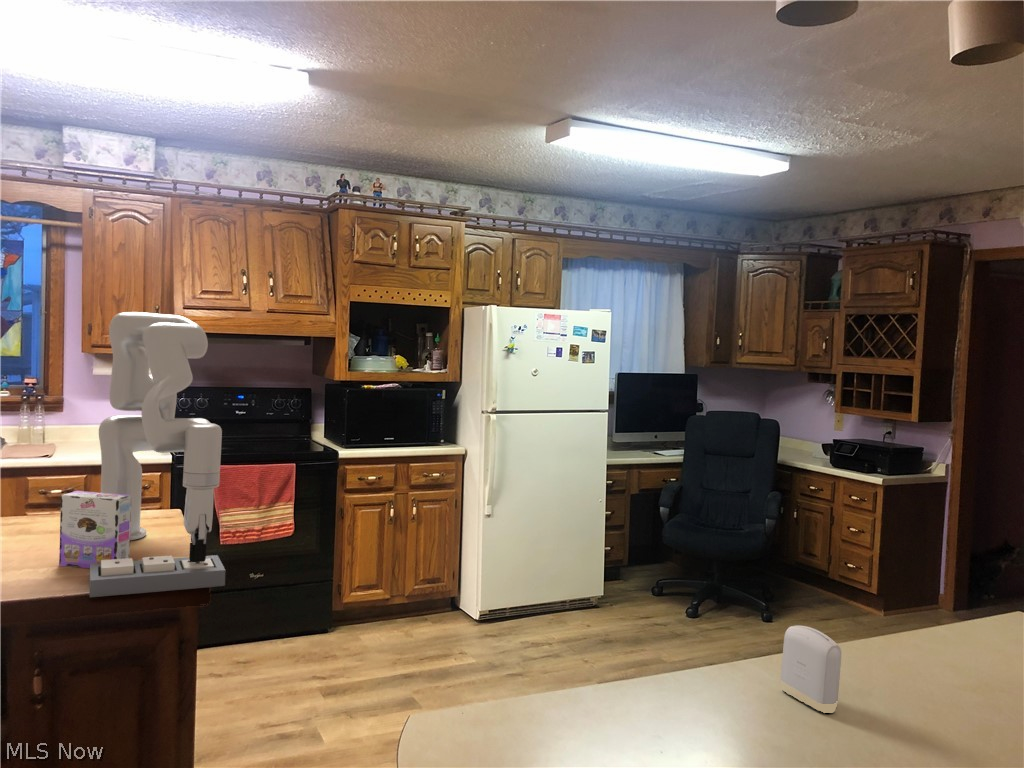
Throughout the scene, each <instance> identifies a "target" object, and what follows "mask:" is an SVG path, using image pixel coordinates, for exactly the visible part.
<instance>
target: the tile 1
mask: <svg viewBox="0 0 1024 768" xmlns="http://www.w3.org/2000/svg"><path fill="white" fill-rule="evenodd" d="M133 561H134V559H133V557H129V558H125V559H110V560H101V576H108V575H121V574H133V570H134V565H133Z"/></svg>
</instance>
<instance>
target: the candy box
mask: <svg viewBox="0 0 1024 768" xmlns="http://www.w3.org/2000/svg"><path fill="white" fill-rule="evenodd" d="M59 516H60V519H59V520H60V522H59V557H58V558H59V559H58V566H59V567H61V566H62V567H69V568H71V567H72V568H83V569H84V568H85V569H90V564H94V563H101V560H110V559H125V558H130V545H131V544H130V542H131V540H130V522H131V495H122V494H109V493H101V492H96V491H83V490H75V491H72V492H69V493H67V492H66V493H64V494H61V495H60V515H59Z"/></svg>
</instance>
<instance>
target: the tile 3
mask: <svg viewBox="0 0 1024 768" xmlns="http://www.w3.org/2000/svg"><path fill="white" fill-rule="evenodd" d="M181 568H182V570H188V569H201V568H214V565H213V563H212V561H211V559H210V558H208V559H206V560H205V561H204V562H190V560H182V563H181Z"/></svg>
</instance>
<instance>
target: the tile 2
mask: <svg viewBox="0 0 1024 768" xmlns="http://www.w3.org/2000/svg"><path fill="white" fill-rule="evenodd" d="M173 558H174V557H173V555H159V556H158V555H157V556H145V557H142V559H141V560H142V569H143V573H148V572H161V571H175V562H174V559H173Z"/></svg>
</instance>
